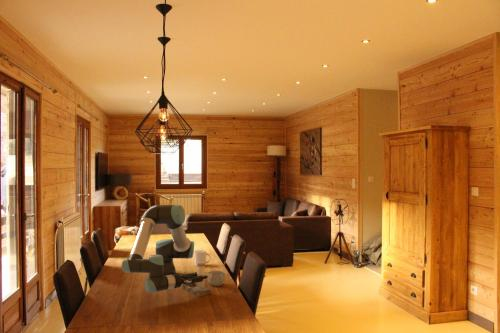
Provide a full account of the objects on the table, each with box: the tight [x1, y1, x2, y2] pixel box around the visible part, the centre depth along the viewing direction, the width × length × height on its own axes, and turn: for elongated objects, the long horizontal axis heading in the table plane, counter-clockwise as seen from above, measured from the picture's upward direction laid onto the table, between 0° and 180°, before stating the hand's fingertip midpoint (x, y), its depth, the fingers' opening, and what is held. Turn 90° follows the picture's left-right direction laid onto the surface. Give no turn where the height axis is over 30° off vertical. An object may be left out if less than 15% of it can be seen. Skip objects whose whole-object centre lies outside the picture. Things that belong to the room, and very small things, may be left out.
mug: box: [193, 249, 212, 268], centre depth 315 cm, size 9×12×11 cm
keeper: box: [195, 263, 209, 292], centre depth 244 cm, size 6×5×16 cm
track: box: [181, 282, 212, 297], centre depth 249 cm, size 20×8×4 cm, turn 36°
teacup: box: [207, 270, 226, 287], centre depth 261 cm, size 14×11×8 cm
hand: (209, 274), depth 248 cm, fingers closed on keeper, 4 cm apart
